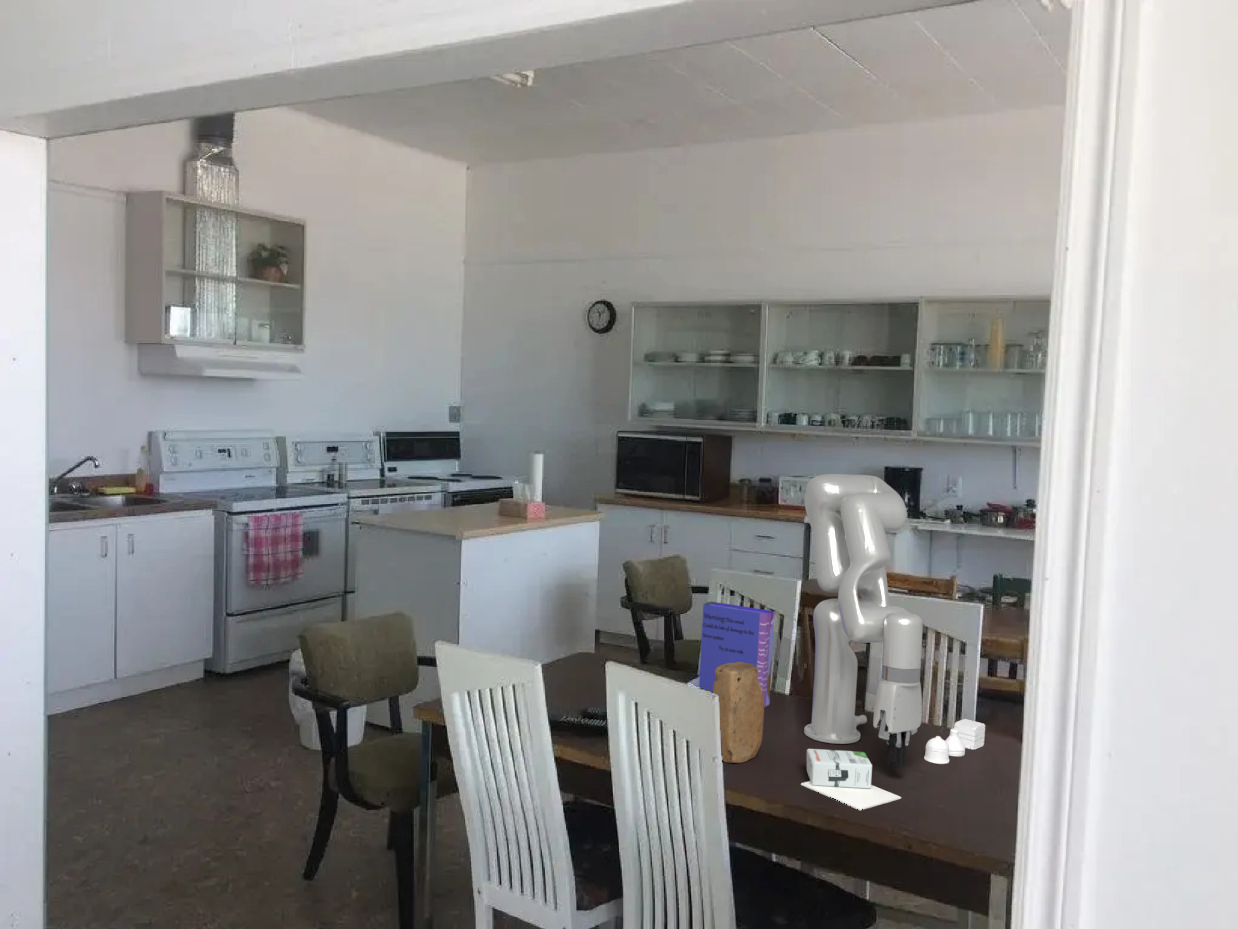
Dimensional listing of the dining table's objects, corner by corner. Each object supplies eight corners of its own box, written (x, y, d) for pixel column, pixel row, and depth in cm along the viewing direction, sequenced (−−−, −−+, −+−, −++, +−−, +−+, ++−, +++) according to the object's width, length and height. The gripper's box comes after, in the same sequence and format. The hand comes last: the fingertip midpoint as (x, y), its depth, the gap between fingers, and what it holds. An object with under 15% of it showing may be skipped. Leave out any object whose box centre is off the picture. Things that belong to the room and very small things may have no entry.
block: (727, 767, 216) (732, 671, 215) (704, 756, 223) (709, 663, 221) (766, 758, 223) (771, 665, 221) (742, 748, 229) (747, 657, 228)
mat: (841, 774, 215) (841, 773, 215) (901, 798, 203) (901, 797, 203) (800, 784, 208) (801, 783, 208) (859, 810, 196) (859, 809, 196)
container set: (962, 741, 242) (964, 718, 241) (984, 747, 238) (986, 723, 238) (919, 760, 227) (921, 735, 227) (942, 766, 224) (943, 741, 223)
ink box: (863, 774, 215) (805, 770, 216) (865, 751, 215) (806, 747, 215) (871, 790, 206) (810, 786, 207) (872, 765, 206) (811, 761, 207)
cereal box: (769, 705, 263) (774, 610, 262) (761, 709, 259) (767, 613, 258) (706, 692, 272) (711, 600, 271) (698, 696, 268) (703, 603, 267)
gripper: (909, 667, 219) (905, 754, 220) (861, 674, 210) (857, 765, 211) (939, 674, 213) (935, 764, 214) (891, 682, 204) (887, 776, 205)
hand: (896, 764), depth 212 cm, fingers closed
